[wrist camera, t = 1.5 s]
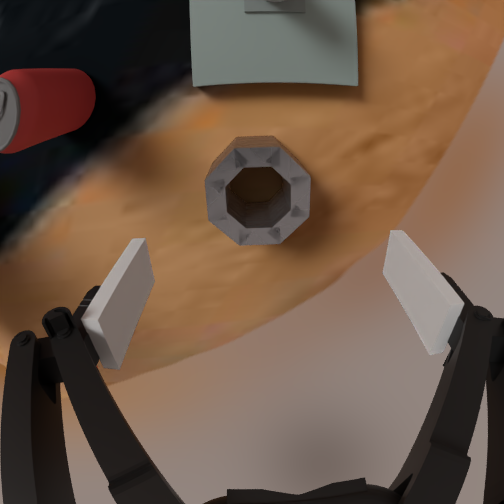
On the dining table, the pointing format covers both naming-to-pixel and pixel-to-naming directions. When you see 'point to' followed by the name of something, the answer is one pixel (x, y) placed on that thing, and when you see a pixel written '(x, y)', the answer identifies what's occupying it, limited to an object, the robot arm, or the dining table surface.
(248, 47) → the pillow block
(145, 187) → the dining table surface
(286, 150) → the ring
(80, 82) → the beer can
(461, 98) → the dining table surface
